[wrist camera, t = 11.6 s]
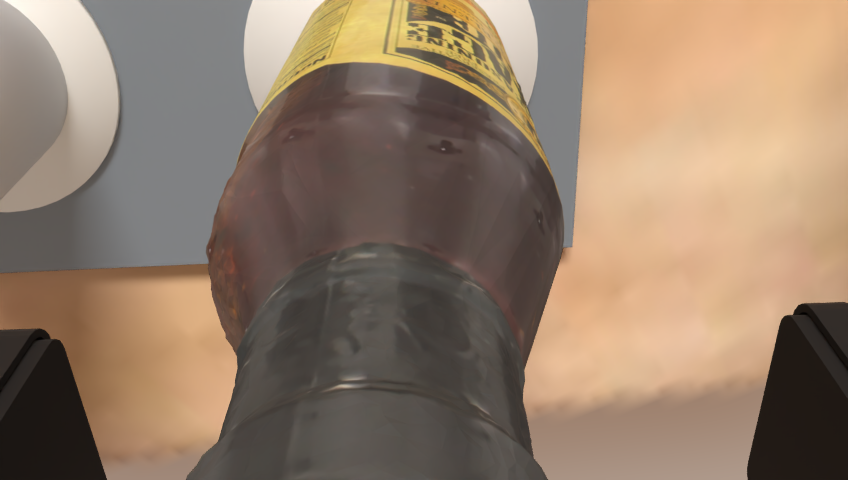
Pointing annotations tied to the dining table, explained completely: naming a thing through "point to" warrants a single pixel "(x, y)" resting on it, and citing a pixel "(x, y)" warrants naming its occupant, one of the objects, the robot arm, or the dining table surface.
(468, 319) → the sauce bottle
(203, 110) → the board
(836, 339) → the robot arm
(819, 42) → the dining table surface
